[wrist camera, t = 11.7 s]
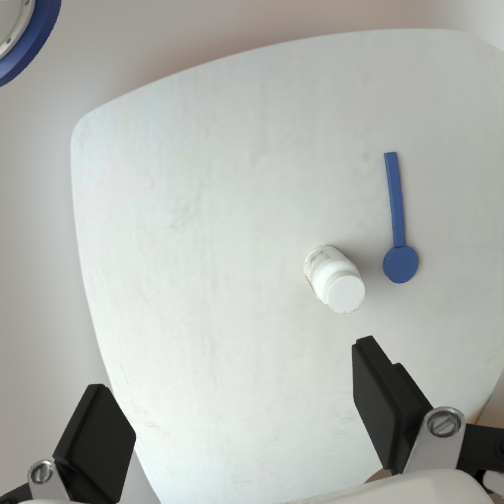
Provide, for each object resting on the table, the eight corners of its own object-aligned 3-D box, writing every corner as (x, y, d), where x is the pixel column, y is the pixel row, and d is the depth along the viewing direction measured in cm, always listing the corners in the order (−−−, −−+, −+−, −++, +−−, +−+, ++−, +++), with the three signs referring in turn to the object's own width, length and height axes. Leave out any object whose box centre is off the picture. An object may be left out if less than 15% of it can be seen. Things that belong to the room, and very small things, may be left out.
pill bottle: (300, 284, 33) (316, 318, 25) (306, 243, 31) (326, 267, 24) (339, 286, 33) (365, 320, 25) (347, 247, 32) (376, 271, 24)
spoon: (370, 154, 29) (374, 154, 28) (405, 151, 29) (409, 150, 28) (383, 284, 33) (386, 287, 32) (414, 276, 33) (418, 278, 32)
